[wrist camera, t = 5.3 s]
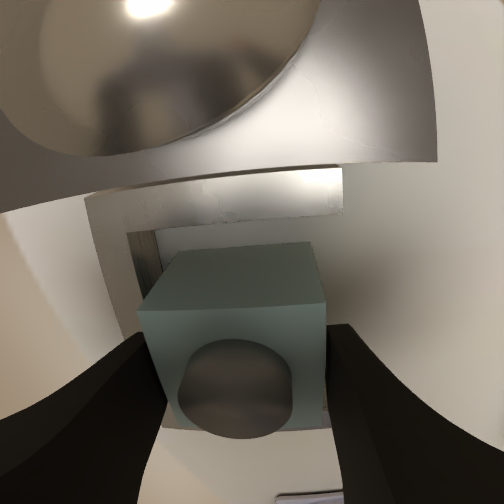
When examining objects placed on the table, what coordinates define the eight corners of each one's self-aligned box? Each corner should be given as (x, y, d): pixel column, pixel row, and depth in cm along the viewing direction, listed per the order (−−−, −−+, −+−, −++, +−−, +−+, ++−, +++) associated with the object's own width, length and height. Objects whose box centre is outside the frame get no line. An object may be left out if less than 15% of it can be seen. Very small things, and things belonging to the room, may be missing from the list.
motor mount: (341, 392, 13) (362, 533, 7) (173, 396, 14) (130, 523, 7) (326, -12, 7) (382, -156, 1) (97, 28, 8) (-56, -19, 2)
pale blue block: (312, 347, 12) (323, 451, 8) (201, 351, 13) (171, 449, 8) (309, 241, 11) (332, 328, 6) (179, 250, 11) (119, 334, 6)
